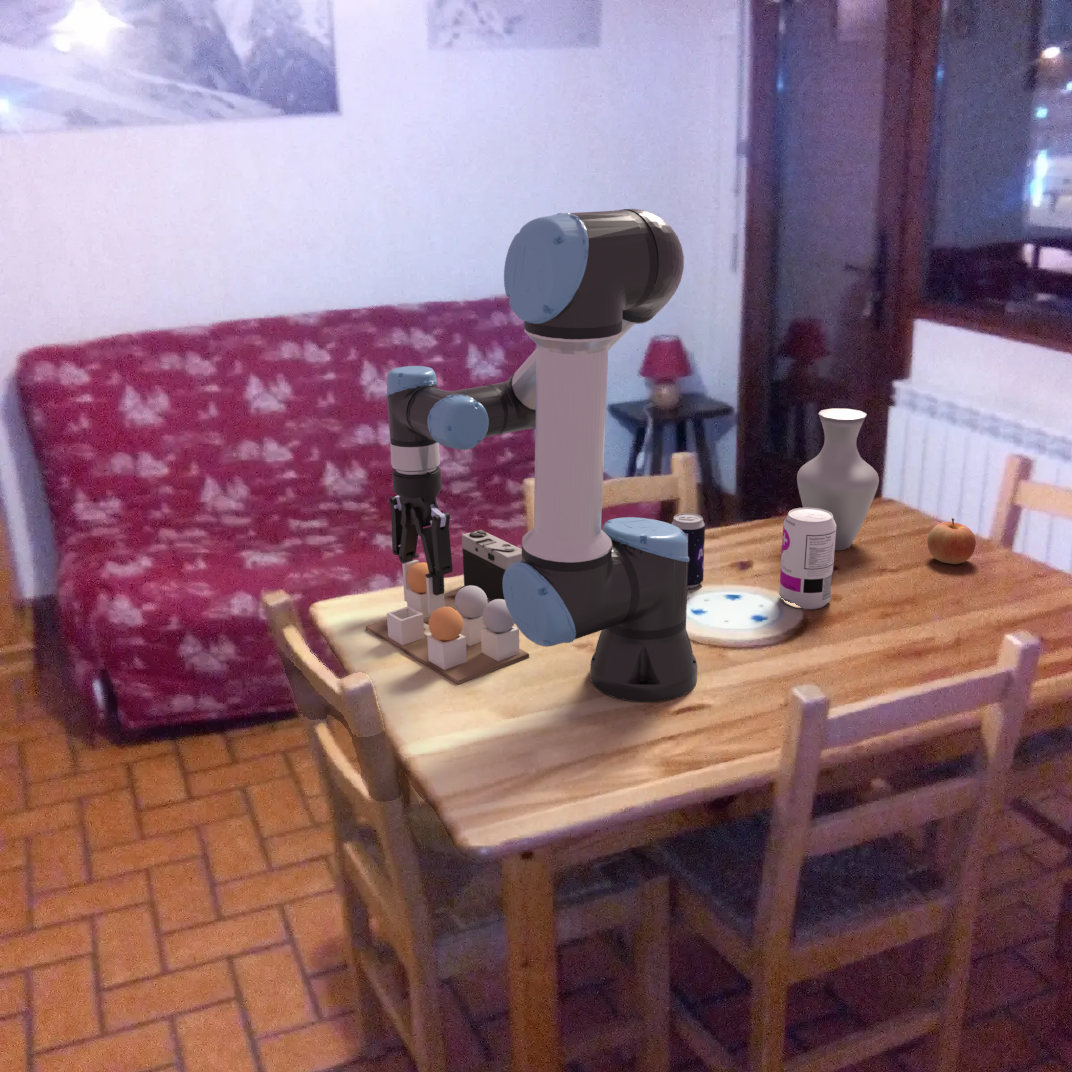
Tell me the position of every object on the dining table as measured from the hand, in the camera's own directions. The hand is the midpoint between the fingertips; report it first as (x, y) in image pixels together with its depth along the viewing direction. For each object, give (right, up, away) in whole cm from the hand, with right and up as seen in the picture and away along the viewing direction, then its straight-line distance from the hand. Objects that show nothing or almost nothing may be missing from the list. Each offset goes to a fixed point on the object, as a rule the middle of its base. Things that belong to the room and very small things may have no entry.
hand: (424, 604), depth 181 cm
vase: (+73, +9, +28) cm, 79 cm away
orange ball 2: (+5, -4, -18) cm, 19 cm away
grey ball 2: (+13, -3, -15) cm, 20 cm away
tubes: (+4, -5, -9) cm, 11 cm away
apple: (+91, +6, +19) cm, 94 cm away
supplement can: (+62, 0, +3) cm, 62 cm away
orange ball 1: (0, +2, -1) cm, 2 cm away
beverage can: (+44, +3, +11) cm, 45 cm away
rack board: (+4, -5, -9) cm, 11 cm away
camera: (+13, +1, +9) cm, 16 cm away
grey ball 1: (+8, -1, -10) cm, 13 cm away
